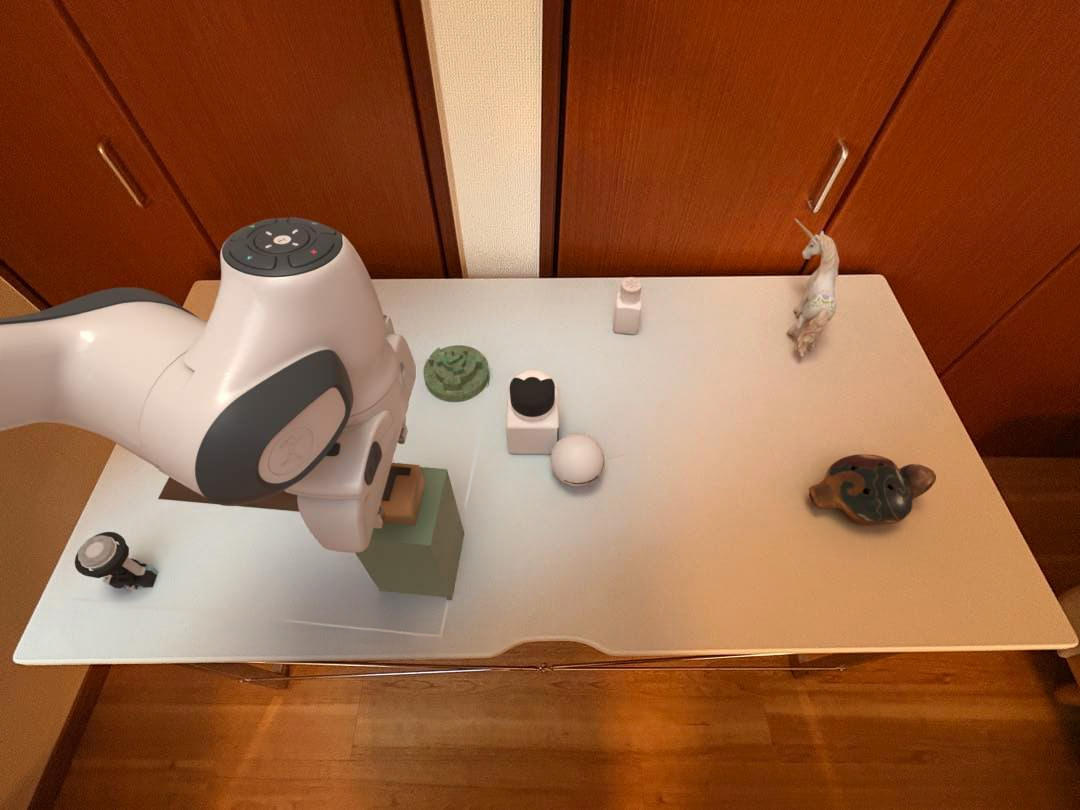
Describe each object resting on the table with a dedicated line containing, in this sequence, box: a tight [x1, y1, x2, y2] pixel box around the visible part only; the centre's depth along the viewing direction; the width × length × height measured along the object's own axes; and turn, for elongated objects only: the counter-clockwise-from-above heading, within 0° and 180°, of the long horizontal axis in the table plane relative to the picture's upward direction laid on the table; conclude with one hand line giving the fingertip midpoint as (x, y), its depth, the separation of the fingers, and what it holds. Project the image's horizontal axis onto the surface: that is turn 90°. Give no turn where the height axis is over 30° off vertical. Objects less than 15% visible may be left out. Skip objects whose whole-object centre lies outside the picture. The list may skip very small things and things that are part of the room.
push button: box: [74, 531, 159, 591], centre depth 74 cm, size 7×5×10 cm
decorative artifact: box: [423, 344, 491, 403], centre depth 94 cm, size 10×7×10 cm
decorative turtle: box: [808, 453, 937, 526], centre depth 80 cm, size 10×15×8 cm, turn 100°
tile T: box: [380, 462, 425, 525], centre depth 64 cm, size 5×5×4 cm
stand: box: [354, 466, 465, 601], centre depth 72 cm, size 9×9×17 cm
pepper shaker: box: [612, 276, 643, 335], centre depth 99 cm, size 4×4×10 cm
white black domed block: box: [505, 369, 560, 455], centre depth 86 cm, size 7×7×12 cm
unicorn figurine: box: [786, 218, 840, 358], centre depth 98 cm, size 7×20×13 cm, turn 178°
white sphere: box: [549, 432, 623, 487], centre depth 84 cm, size 10×7×7 cm
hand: (387, 477), depth 61 cm, fingers open, 8 cm apart
